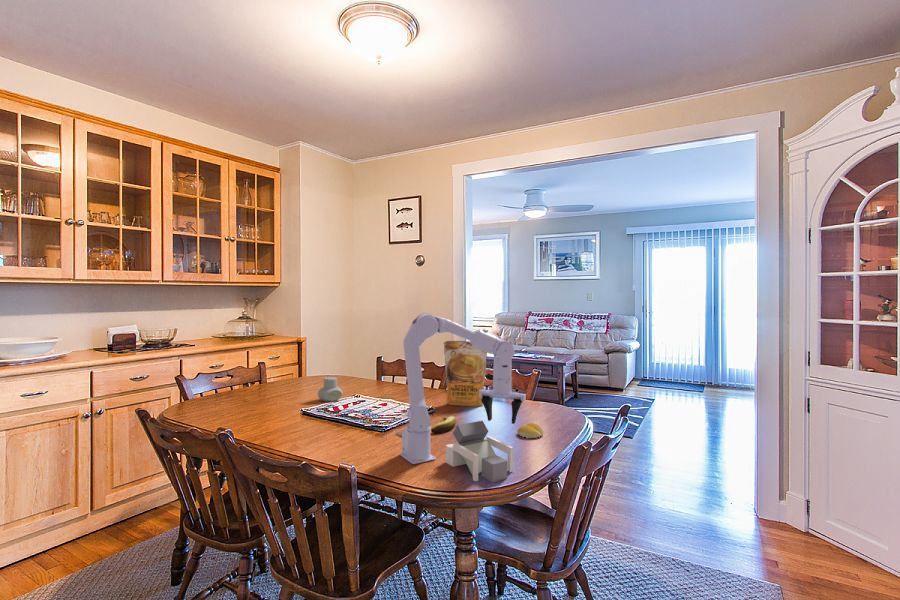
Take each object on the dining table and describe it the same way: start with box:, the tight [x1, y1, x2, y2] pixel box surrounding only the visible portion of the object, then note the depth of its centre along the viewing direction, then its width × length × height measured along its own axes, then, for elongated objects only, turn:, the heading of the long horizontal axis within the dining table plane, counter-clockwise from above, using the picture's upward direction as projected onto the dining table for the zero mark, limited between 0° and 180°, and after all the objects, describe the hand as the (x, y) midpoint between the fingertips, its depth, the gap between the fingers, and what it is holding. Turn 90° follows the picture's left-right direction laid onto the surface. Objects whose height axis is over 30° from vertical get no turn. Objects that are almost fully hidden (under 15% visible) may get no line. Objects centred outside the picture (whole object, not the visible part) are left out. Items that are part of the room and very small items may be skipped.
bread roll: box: [517, 422, 544, 439], centre depth 165 cm, size 8×9×4 cm
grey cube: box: [481, 455, 508, 483], centre depth 129 cm, size 5×5×5 cm
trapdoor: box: [452, 420, 496, 477], centre depth 136 cm, size 14×10×4 cm
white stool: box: [445, 435, 514, 482], centre depth 136 cm, size 16×13×7 cm
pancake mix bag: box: [443, 340, 488, 408], centre depth 205 cm, size 7×19×28 cm, turn 81°
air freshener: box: [317, 376, 344, 403], centre depth 211 cm, size 11×8×10 cm
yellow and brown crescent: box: [395, 416, 457, 444], centre depth 173 cm, size 35×27×4 cm
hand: (501, 421), depth 146 cm, fingers open, 7 cm apart
